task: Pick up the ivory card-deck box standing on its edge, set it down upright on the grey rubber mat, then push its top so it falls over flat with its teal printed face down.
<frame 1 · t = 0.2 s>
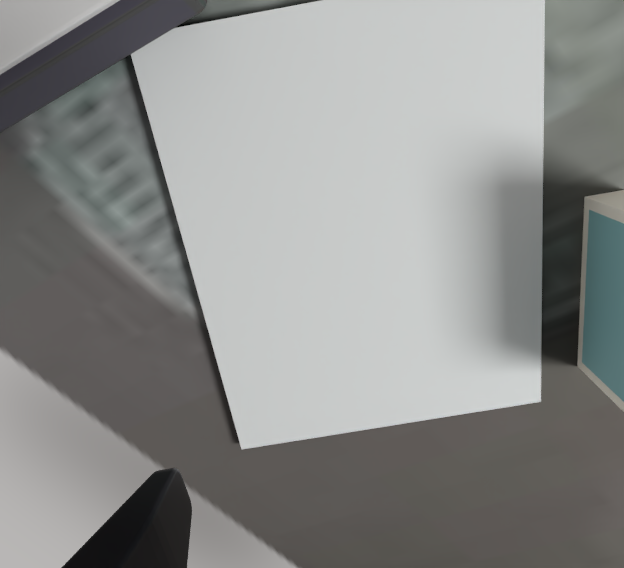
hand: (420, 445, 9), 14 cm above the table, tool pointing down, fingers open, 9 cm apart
deck: (598, 283, 24), on the table
mat: (364, 245, 22), on the table
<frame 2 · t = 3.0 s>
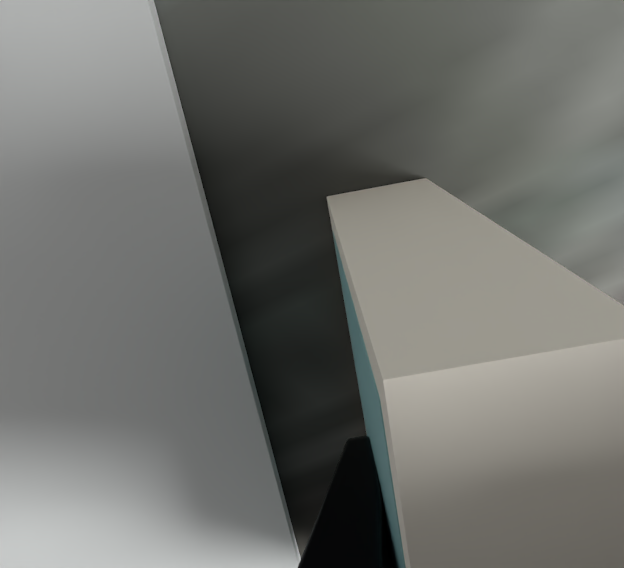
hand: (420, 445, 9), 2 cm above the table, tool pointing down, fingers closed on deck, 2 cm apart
deck: (403, 395, 10), on the table, touching gripper
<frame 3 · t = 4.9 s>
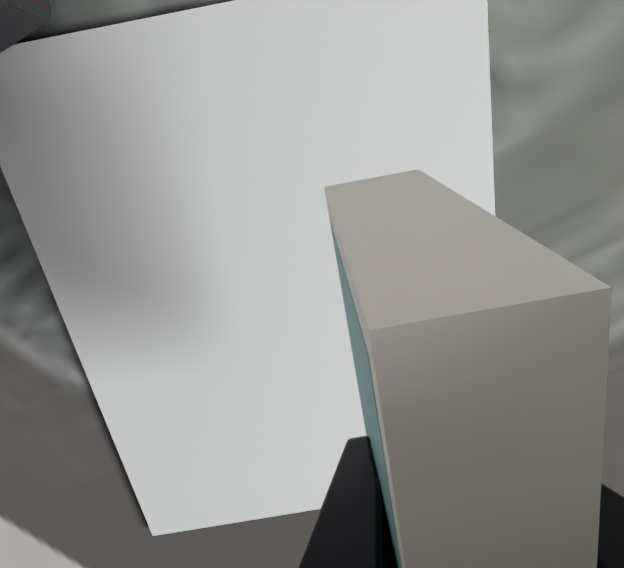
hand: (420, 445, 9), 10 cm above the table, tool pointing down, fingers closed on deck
deck: (397, 378, 11), point 8 cm above the table, touching gripper
mat: (282, 303, 18), on the table
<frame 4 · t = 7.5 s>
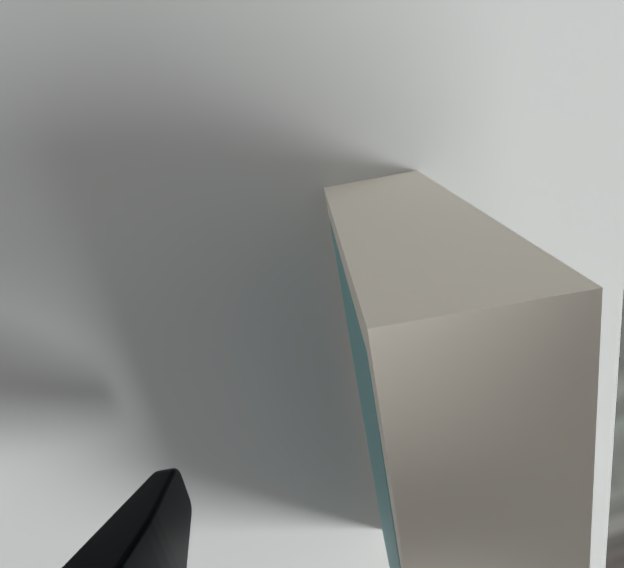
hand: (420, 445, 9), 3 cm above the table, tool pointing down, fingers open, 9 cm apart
deck: (396, 377, 11), resting on mat
mat: (276, 425, 12), on the table
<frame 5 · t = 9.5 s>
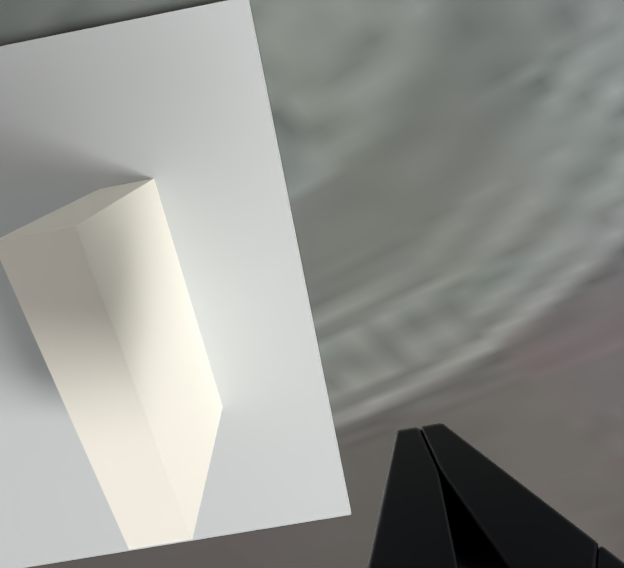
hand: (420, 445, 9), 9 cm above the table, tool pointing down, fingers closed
deck: (166, 308, 17), resting on mat
mat: (99, 342, 18), on the table
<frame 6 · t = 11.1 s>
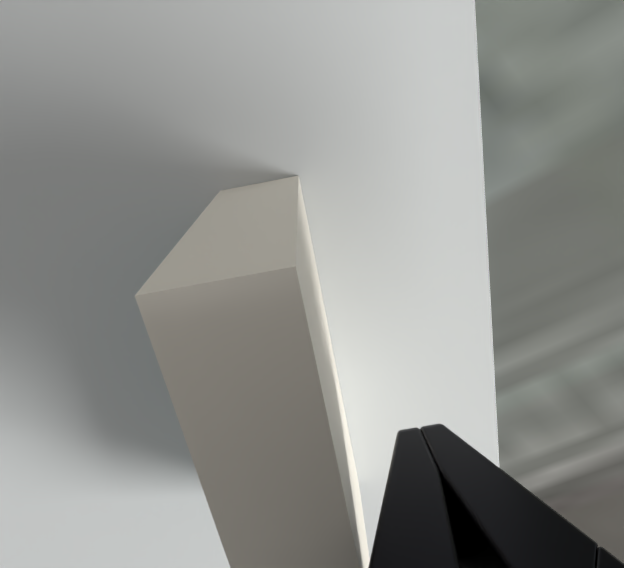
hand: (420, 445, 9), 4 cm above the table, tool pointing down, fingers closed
deck: (298, 355, 12), resting on mat, touching gripper
mat: (198, 399, 13), on the table
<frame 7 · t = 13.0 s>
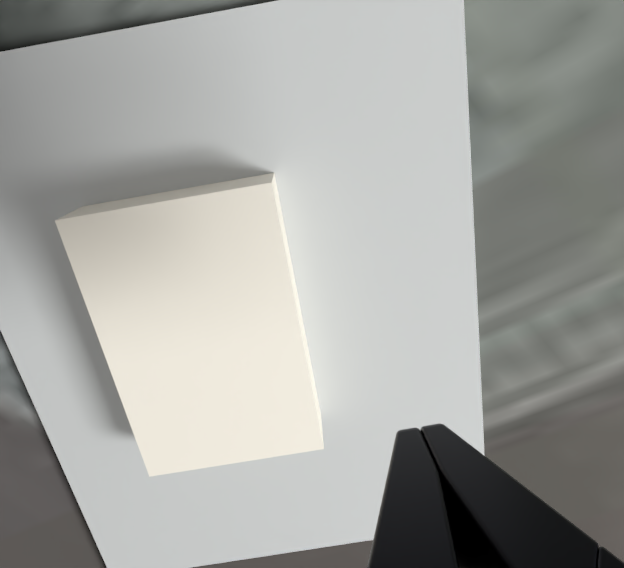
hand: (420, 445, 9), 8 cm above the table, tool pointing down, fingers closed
deck: (300, 317, 15), point 1 cm above the table, tilted 90°, touching mat
mat: (248, 337, 17), on the table
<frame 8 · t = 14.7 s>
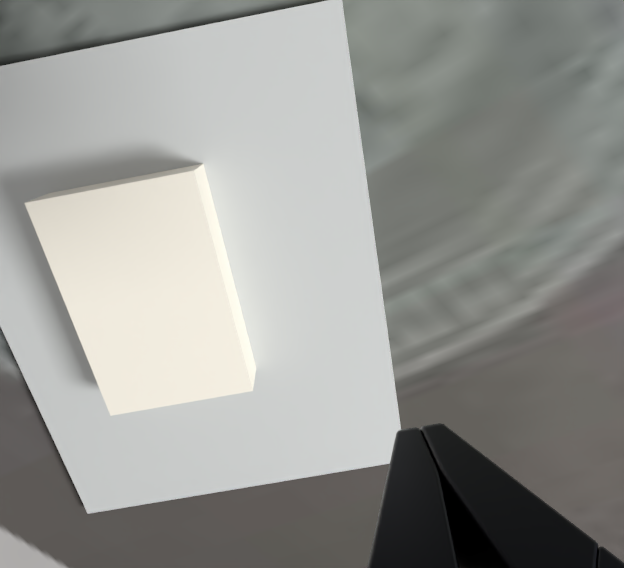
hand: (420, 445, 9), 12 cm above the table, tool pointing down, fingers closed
deck: (229, 282, 19), point 1 cm above the table, tilted 90°, touching mat
mat: (192, 301, 21), on the table
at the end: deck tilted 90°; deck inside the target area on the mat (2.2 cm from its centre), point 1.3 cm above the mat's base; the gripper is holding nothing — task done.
